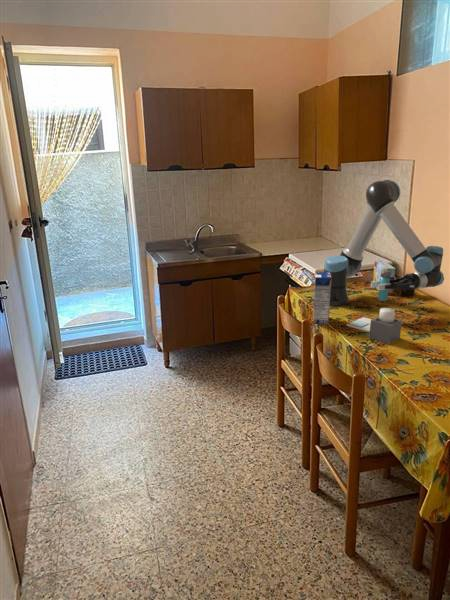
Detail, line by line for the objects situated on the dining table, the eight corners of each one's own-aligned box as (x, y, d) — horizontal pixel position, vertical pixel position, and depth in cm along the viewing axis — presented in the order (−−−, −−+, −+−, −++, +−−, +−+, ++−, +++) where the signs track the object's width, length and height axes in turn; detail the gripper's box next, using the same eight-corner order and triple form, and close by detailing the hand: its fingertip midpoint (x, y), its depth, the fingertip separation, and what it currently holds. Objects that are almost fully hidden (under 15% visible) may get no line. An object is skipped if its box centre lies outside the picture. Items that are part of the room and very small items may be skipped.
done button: (375, 321, 186) (377, 310, 184) (383, 318, 190) (384, 307, 188) (389, 325, 182) (390, 313, 180) (396, 321, 186) (398, 310, 184)
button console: (369, 337, 188) (370, 320, 186) (380, 332, 194) (381, 314, 192) (389, 344, 182) (391, 325, 180) (399, 338, 188) (402, 320, 185)
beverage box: (312, 324, 204) (315, 277, 197) (313, 316, 214) (315, 271, 208) (328, 325, 203) (331, 278, 196) (327, 316, 213) (330, 271, 206)
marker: (375, 299, 207) (379, 271, 203) (380, 297, 210) (384, 269, 206) (384, 301, 204) (388, 273, 200) (388, 299, 207) (392, 271, 203)
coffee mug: (416, 297, 240) (419, 279, 237) (399, 297, 242) (402, 279, 239) (412, 291, 251) (414, 274, 248) (396, 290, 253) (398, 273, 250)
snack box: (393, 295, 246) (396, 268, 241) (383, 295, 246) (385, 268, 241) (381, 284, 266) (383, 259, 261) (371, 284, 266) (373, 259, 261)
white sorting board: (346, 325, 202) (346, 323, 202) (363, 318, 211) (363, 316, 211) (374, 334, 192) (375, 332, 192) (391, 326, 201) (391, 324, 201)
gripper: (427, 293, 205) (386, 299, 197) (400, 283, 220) (361, 288, 212) (429, 277, 203) (389, 283, 194) (402, 269, 218) (363, 273, 209)
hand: (374, 286), depth 203 cm, fingers closed on marker, 4 cm apart
